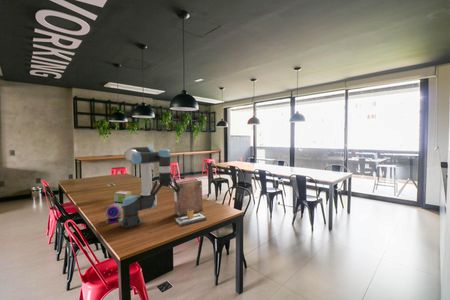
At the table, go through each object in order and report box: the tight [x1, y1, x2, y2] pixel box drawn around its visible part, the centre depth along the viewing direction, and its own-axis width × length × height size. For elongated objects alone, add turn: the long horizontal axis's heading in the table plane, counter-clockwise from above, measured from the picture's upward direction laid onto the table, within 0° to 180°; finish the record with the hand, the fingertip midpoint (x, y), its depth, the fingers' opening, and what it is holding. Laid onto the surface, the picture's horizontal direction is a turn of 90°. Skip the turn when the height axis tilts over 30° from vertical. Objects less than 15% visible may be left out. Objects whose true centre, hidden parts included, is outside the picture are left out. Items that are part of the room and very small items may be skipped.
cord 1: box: [173, 212, 199, 221], centre depth 196 cm, size 2×23×2 cm, turn 123°
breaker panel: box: [175, 212, 206, 226], centre depth 188 cm, size 11×23×2 cm, turn 123°
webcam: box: [105, 203, 123, 224], centre depth 189 cm, size 13×13×15 cm
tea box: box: [113, 190, 133, 208], centre depth 233 cm, size 15×10×15 cm, turn 73°
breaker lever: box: [187, 209, 194, 219], centre depth 188 cm, size 4×4×7 cm
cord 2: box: [180, 217, 207, 227], centre depth 182 cm, size 2×23×2 cm, turn 123°
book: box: [173, 178, 203, 217], centre depth 208 cm, size 25×9×30 cm, turn 130°
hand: (165, 203), depth 147 cm, fingers open, 13 cm apart
